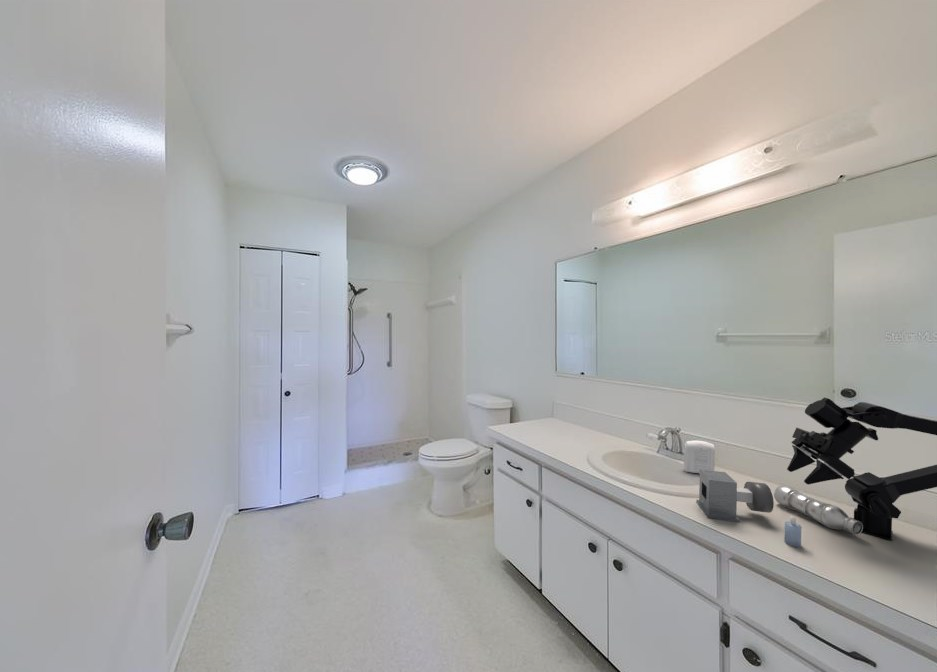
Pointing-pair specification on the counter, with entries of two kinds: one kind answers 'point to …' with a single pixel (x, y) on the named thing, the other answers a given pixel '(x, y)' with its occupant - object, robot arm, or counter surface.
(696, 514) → the counter surface
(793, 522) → the small blue bottle
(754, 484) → the knob
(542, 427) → the counter surface
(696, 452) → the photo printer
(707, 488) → the mount
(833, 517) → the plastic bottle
